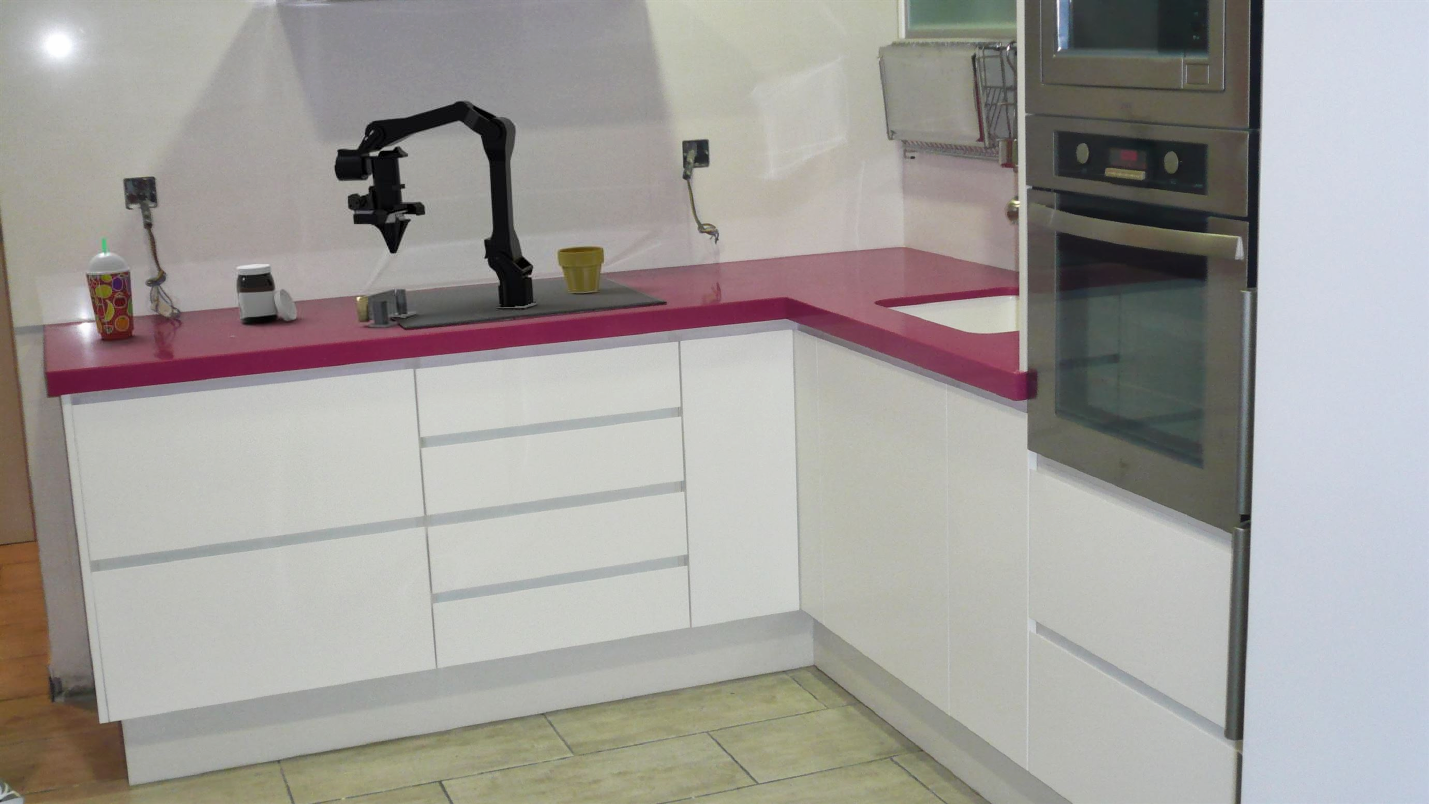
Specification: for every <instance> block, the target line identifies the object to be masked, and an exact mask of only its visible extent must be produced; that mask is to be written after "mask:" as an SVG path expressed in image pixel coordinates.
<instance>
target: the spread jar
mask: <svg viewBox="0 0 1429 804" xmlns="http://www.w3.org/2000/svg"><path fill="white" fill-rule="evenodd" d="M271 272H272V267H271V264H267V263H256V264H254V263H253V264H244V265H239V266H237V267H236V274H237V277H236V283H235V286H236V287H235V288H236V297H237V304H238V305H237V306H238V310H239V311H238V312H239V319H240V321H241V323H242V324H245V325H262V324H267V323H268V324H269V323H273V322H276V321H277V320H278V318H279V315H280V316H281V318H282V319H283V320H284V321H286V322H291V321H294V320H296V319H297V316H298V311H297V307H296V304H295V302H294V299H293V298H292V296H291V295H290V293H289V291H287V290H286V289H284V288H280V289H278V290H276V284H275V279H274V277H273V274H271Z"/></svg>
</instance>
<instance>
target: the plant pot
mask: <svg viewBox="0 0 1429 804" xmlns="http://www.w3.org/2000/svg"><path fill="white" fill-rule="evenodd" d="M604 251H605V250H604V247H601V246H596V245H594V246H592V245H589V246H588V245H586V246H585V245H584V246H575V247H574V246H573V247H566V248H561V249H558V250H557V262H558V266H559V267H561V270H562V272H563V276H564V280H565V283H566V288H567V291H568V293H569V292H588V291H595V290H598V291H599V288H600V281H601V272H602V271H601V270H602V264H604V262H605V252H604Z"/></svg>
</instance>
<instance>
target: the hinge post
mask: <svg viewBox="0 0 1429 804" xmlns="http://www.w3.org/2000/svg"><path fill="white" fill-rule="evenodd" d="M394 289H395V288H394ZM406 292H407V291H406V288H396V289H395V295H396V306H397V313H395V314H396V315H397V314H398V315H401V314H413V313H417V312H418V311H408V303H407V301H408V300H407V293H406ZM391 316H393V314H392V315H388V319H392V318H391Z"/></svg>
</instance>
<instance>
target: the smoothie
mask: <svg viewBox="0 0 1429 804" xmlns="http://www.w3.org/2000/svg"><path fill="white" fill-rule="evenodd" d="M101 244H102V252H98V253H97V254H95V255H94V256H92V258H90V261H89V262H88V265H87V267H86V270H85V271H84V274H85V277H86V282H87V286H88V290H89V291H88V292H89V295H90V301H91V306H92V310H93V314H94V320H95V323H96V325H95V326H96V329H97V333H98V334H100V337H101V339H102V340H105V341H114V340H115V341H116V340H124V339H125V340H126V339H128V338H131V337H132V336H133V331H134V330H135V320H134V307H133V306H134V305H133V295H132V279H131V277H132V276H131V267H129V265H128V263H127V262H126V260H125V259H124V258H123V257H122V256H121V255H120V254H117V253H116V252H115V253H114V252H113V251H108V249H107V243H106V238H104V237H102V238H101Z"/></svg>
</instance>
